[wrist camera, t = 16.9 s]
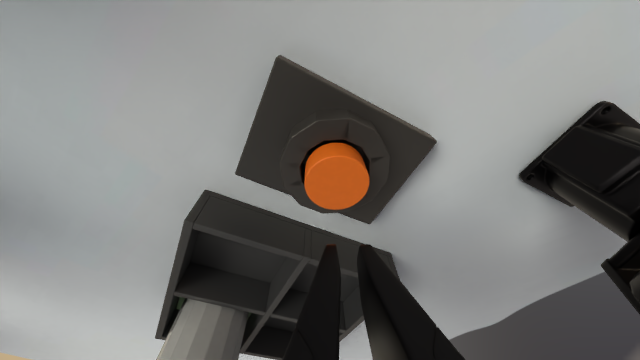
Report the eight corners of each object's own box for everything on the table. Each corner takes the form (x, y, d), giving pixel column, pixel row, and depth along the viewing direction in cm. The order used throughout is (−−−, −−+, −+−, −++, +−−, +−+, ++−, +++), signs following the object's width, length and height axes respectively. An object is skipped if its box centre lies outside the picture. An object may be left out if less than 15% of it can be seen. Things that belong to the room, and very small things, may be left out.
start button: (375, 156, 14) (382, 171, 13) (345, 200, 16) (348, 218, 14) (321, 131, 13) (322, 145, 12) (296, 180, 15) (294, 197, 13)
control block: (429, 134, 16) (450, 153, 14) (366, 214, 20) (374, 241, 17) (279, 54, 13) (271, 60, 11) (239, 165, 17) (226, 189, 15)
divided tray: (390, 253, 23) (402, 286, 20) (312, 334, 31) (312, 366, 28) (205, 189, 18) (184, 220, 15) (172, 304, 27) (154, 338, 24)
